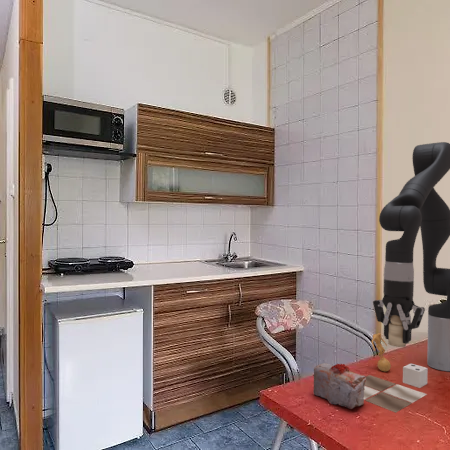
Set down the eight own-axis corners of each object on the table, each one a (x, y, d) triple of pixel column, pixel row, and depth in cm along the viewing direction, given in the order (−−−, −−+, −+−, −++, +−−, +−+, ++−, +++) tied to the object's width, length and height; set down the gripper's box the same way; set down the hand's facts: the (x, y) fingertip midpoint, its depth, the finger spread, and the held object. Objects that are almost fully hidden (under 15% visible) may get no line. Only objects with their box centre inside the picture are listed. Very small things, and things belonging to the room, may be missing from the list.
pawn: (393, 341, 111) (394, 311, 111) (408, 345, 108) (409, 314, 108) (385, 343, 108) (386, 313, 108) (400, 348, 105) (401, 316, 105)
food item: (369, 405, 104) (370, 368, 104) (354, 415, 99) (354, 375, 99) (325, 388, 114) (325, 354, 114) (308, 396, 109) (309, 361, 109)
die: (410, 379, 122) (410, 363, 122) (427, 384, 118) (427, 367, 118) (402, 383, 119) (403, 366, 119) (419, 389, 115) (419, 371, 115)
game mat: (369, 375, 124) (369, 374, 124) (427, 394, 111) (427, 394, 111) (336, 389, 113) (336, 389, 113) (395, 413, 100) (395, 412, 100)
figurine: (383, 376, 124) (384, 338, 124) (365, 370, 129) (366, 333, 129) (395, 370, 130) (396, 333, 130) (378, 364, 134) (379, 329, 134)
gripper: (431, 280, 105) (430, 345, 105) (381, 274, 116) (379, 333, 116) (418, 282, 100) (416, 350, 100) (367, 276, 111) (365, 336, 111)
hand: (397, 340), depth 108 cm, fingers closed on pawn, 4 cm apart
